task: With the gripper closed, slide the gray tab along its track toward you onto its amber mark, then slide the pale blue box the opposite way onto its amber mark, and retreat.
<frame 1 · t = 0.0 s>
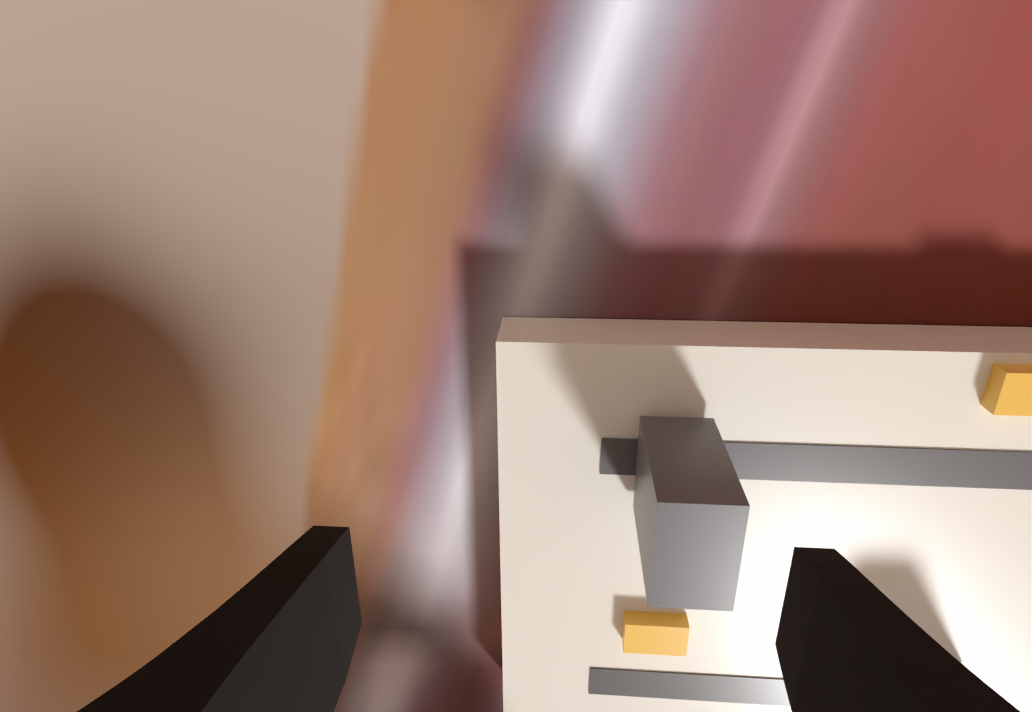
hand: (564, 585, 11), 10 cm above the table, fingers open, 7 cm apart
gray tab: (682, 506, 17), point 4 cm above the table, slide at 0.0 cm
switch board: (818, 534, 22), on the table
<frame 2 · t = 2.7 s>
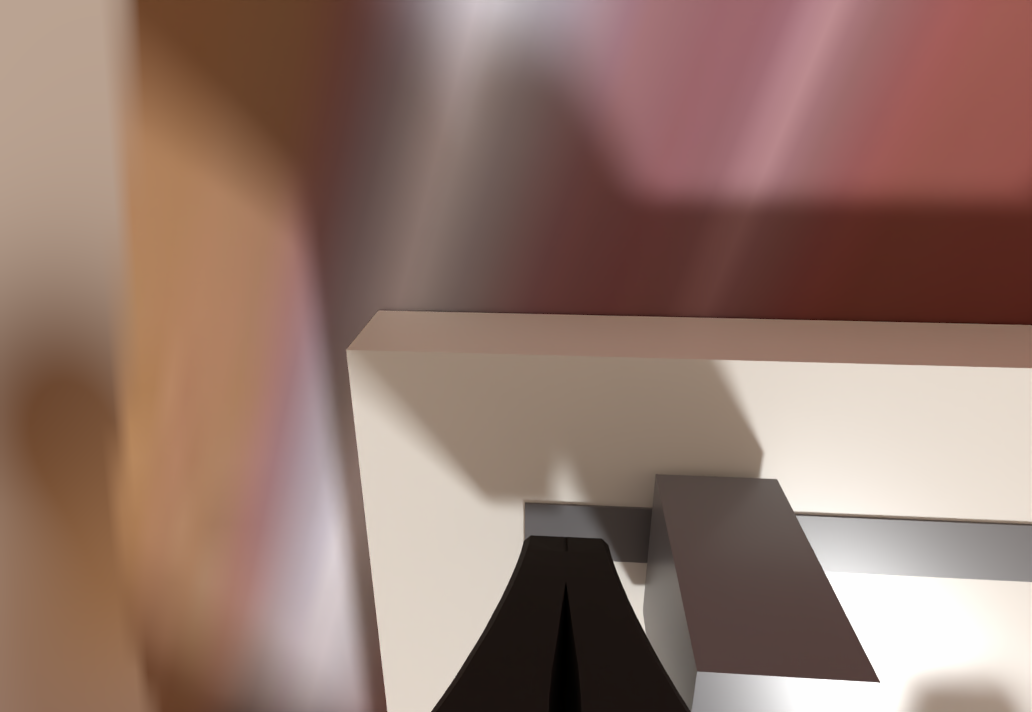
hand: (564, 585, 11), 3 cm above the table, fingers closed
gray tab: (731, 637, 10), point 4 cm above the table, slide at 1.2 cm, touching gripper
switch board: (858, 631, 15), on the table
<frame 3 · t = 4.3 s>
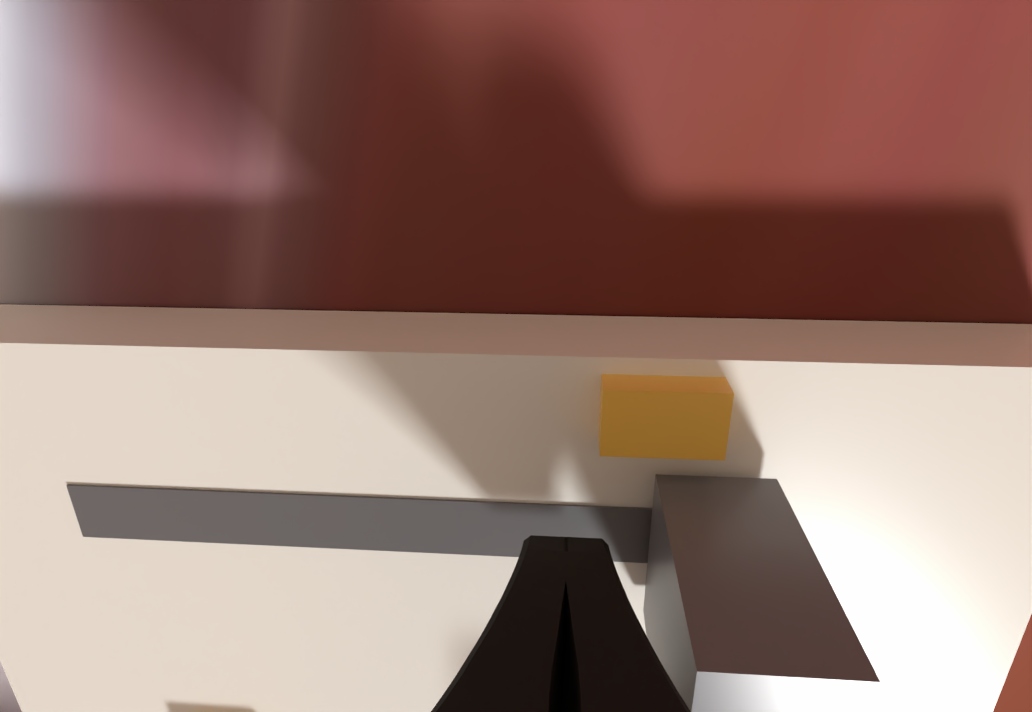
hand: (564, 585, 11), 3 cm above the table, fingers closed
gray tab: (731, 637, 10), point 4 cm above the table, slide at 10.0 cm, touching gripper
switch board: (478, 611, 16), on the table
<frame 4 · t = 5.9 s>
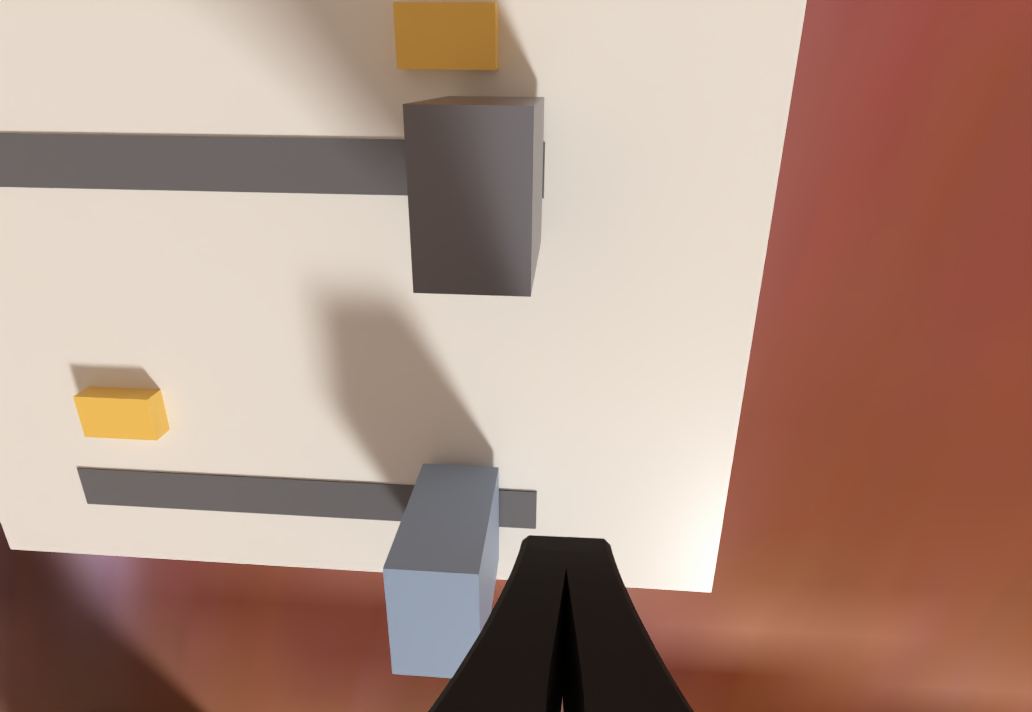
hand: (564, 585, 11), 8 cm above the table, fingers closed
pale blue box: (449, 563, 16), point 4 cm above the table, slide at 0.0 cm
gray tab: (485, 185, 12), point 4 cm above the table, slide at 10.0 cm
switch board: (344, 305, 18), on the table
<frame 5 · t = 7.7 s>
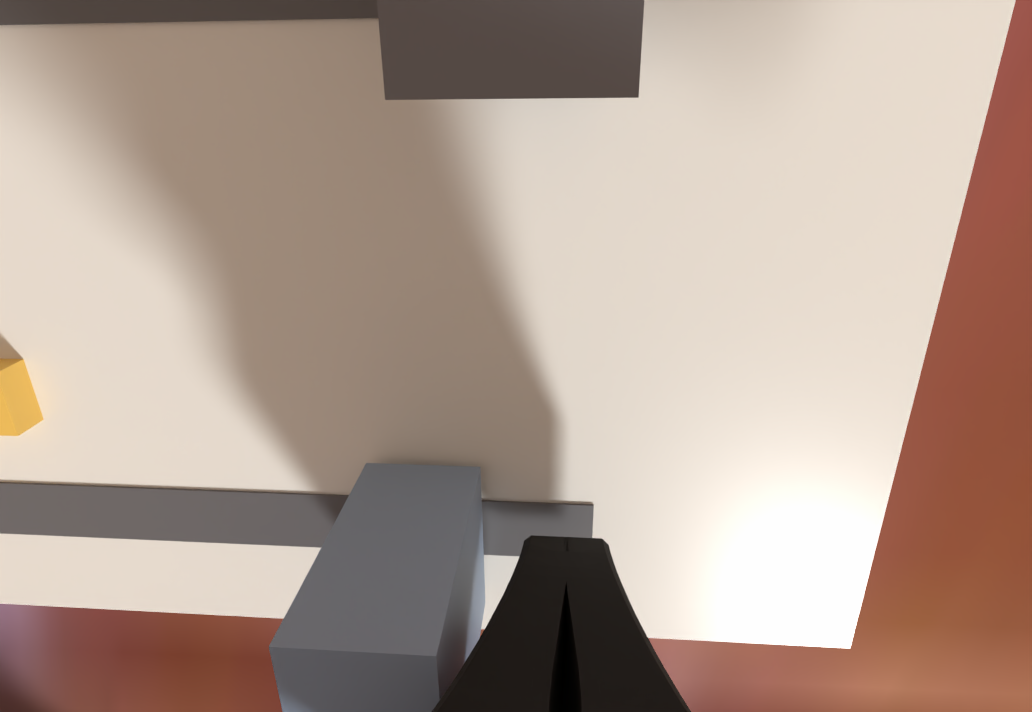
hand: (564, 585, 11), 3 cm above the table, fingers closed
pale blue box: (402, 619, 10), point 4 cm above the table, slide at 1.0 cm, touching gripper
switch board: (302, 233, 12), on the table
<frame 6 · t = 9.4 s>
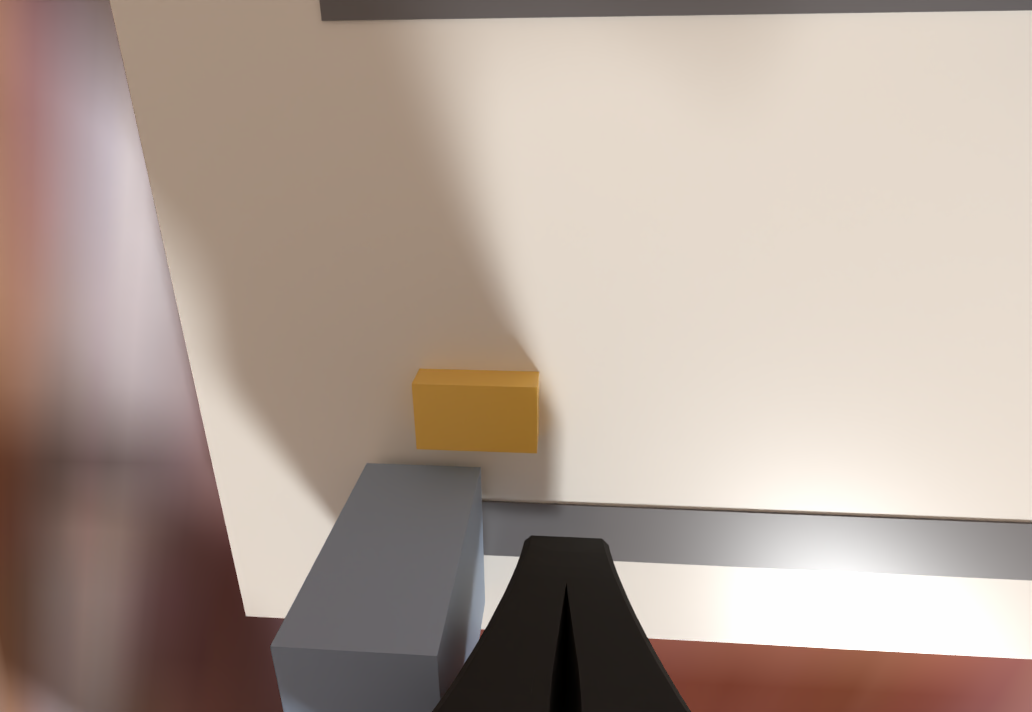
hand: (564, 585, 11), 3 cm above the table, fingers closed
pale blue box: (402, 618, 10), point 4 cm above the table, slide at 10.0 cm, touching gripper
switch board: (799, 238, 12), on the table
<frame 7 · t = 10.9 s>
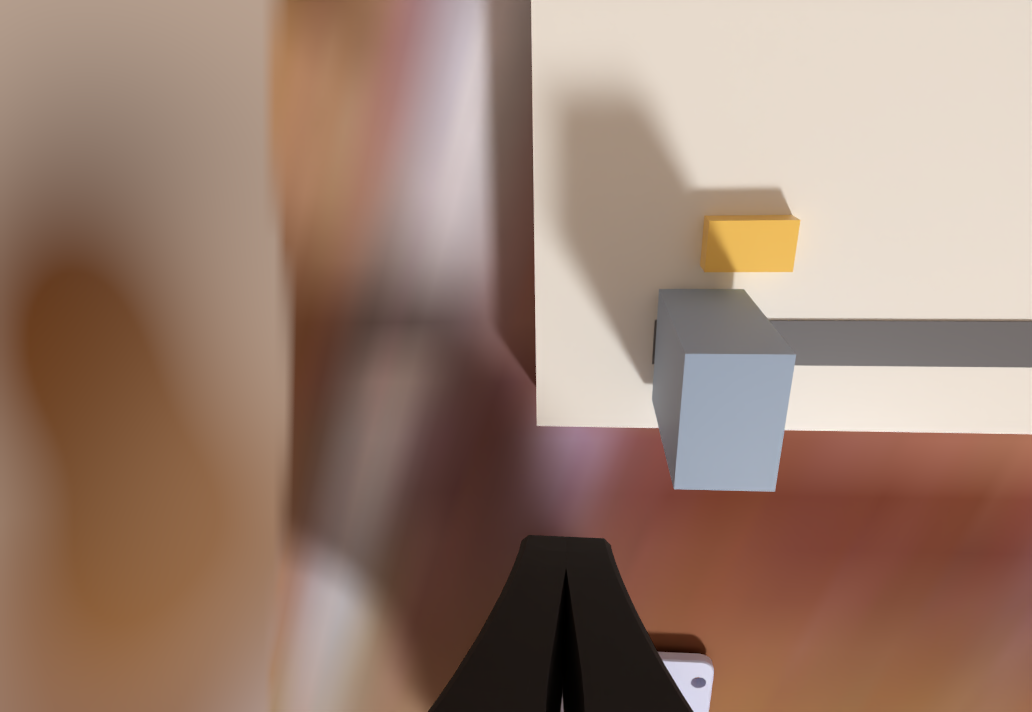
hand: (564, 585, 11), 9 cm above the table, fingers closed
pale blue box: (711, 381, 15), point 4 cm above the table, slide at 10.0 cm
switch board: (967, 122, 16), on the table
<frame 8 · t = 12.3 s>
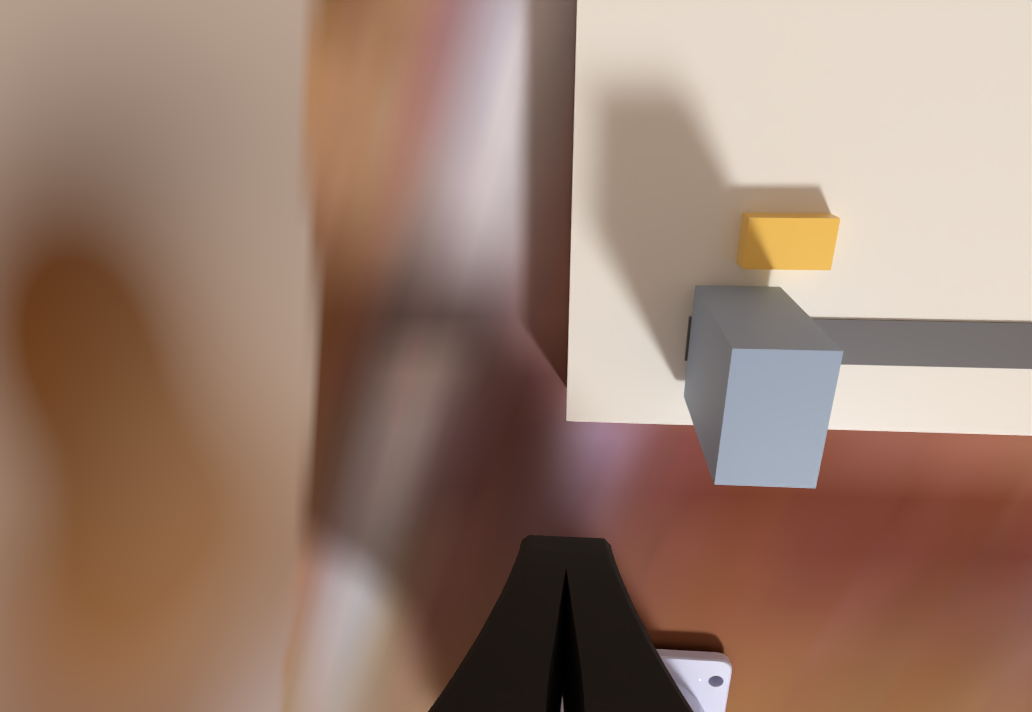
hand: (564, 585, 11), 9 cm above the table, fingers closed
pale blue box: (749, 377, 15), point 4 cm above the table, slide at 10.0 cm
switch board: (1004, 124, 16), on the table
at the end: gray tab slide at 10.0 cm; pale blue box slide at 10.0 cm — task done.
